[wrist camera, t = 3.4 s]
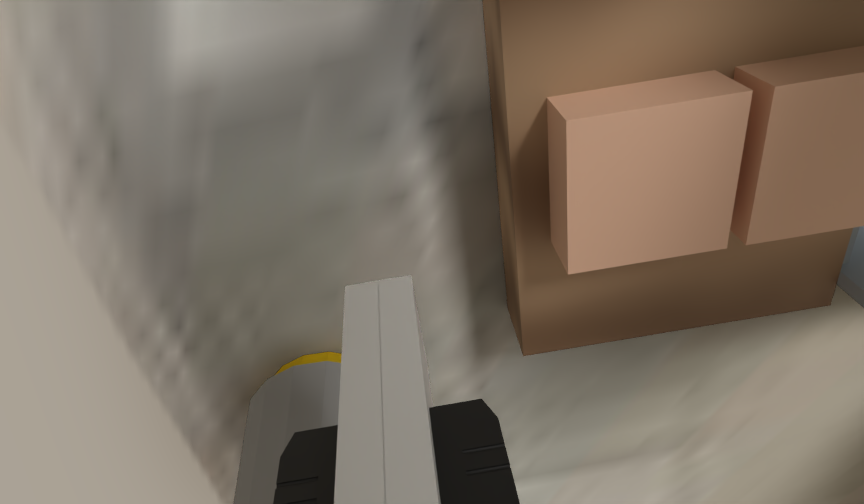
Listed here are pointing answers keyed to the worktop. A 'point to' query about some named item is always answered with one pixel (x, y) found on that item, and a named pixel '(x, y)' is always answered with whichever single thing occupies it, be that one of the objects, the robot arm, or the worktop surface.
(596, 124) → the tile
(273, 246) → the worktop surface
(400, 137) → the worktop surface
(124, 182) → the worktop surface
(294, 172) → the worktop surface
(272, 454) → the soap bottle
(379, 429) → the robot arm
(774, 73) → the tile
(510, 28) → the walnut board
